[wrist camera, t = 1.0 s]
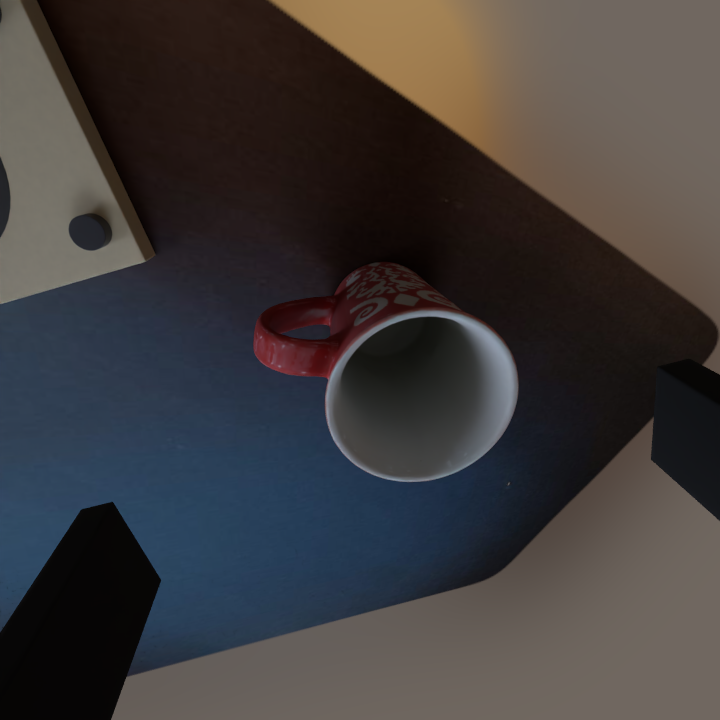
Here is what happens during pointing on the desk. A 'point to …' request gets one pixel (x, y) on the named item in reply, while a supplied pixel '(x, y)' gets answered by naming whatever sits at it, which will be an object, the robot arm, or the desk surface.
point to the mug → (398, 372)
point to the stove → (54, 170)
